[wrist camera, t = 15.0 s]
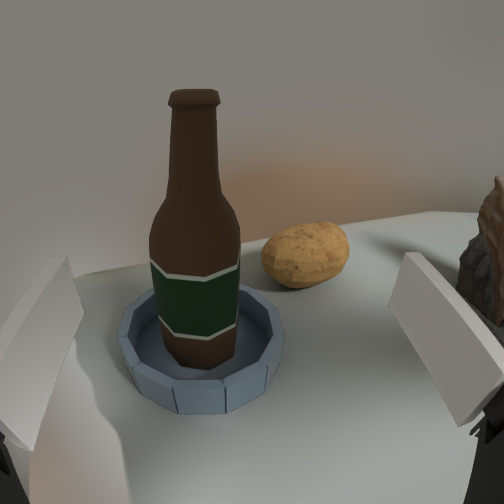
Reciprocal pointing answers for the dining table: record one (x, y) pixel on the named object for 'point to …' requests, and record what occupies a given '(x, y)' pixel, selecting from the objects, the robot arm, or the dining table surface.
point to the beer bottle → (196, 241)
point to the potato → (306, 254)
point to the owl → (486, 259)
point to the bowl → (197, 380)
